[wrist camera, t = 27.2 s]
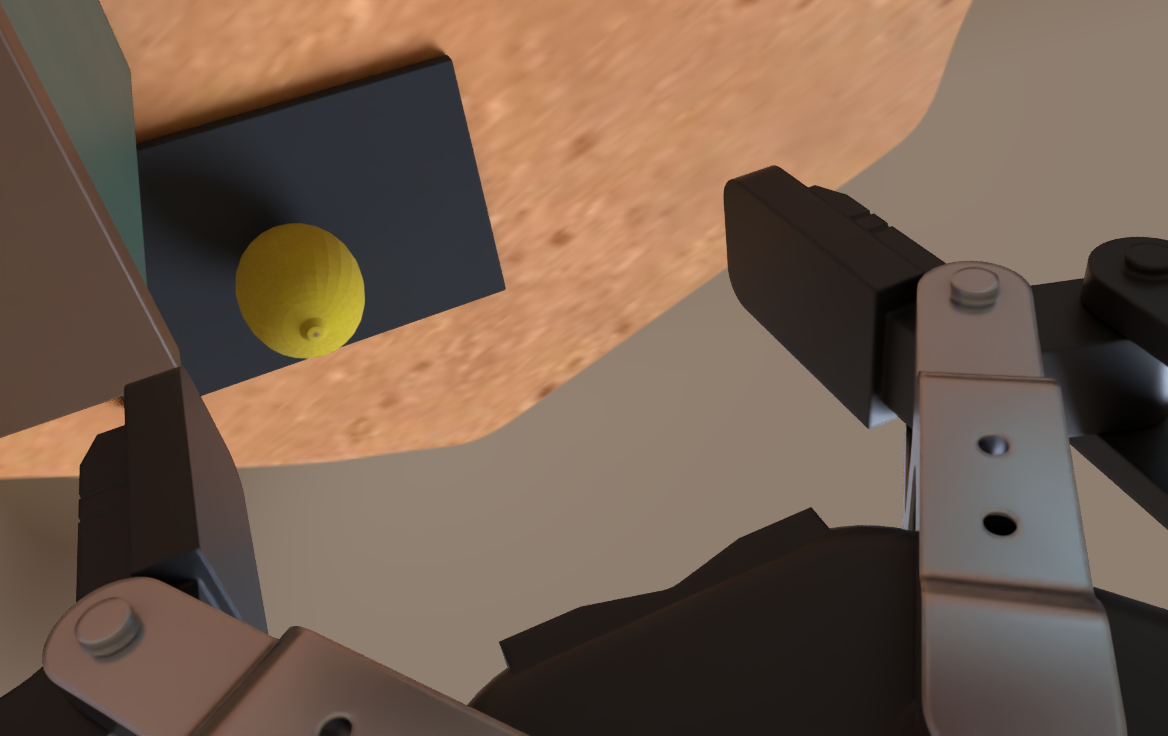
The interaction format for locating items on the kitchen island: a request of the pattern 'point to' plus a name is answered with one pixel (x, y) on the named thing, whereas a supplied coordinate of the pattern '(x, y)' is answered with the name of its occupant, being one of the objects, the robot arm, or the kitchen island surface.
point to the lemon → (300, 290)
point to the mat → (318, 210)
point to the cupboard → (69, 218)
